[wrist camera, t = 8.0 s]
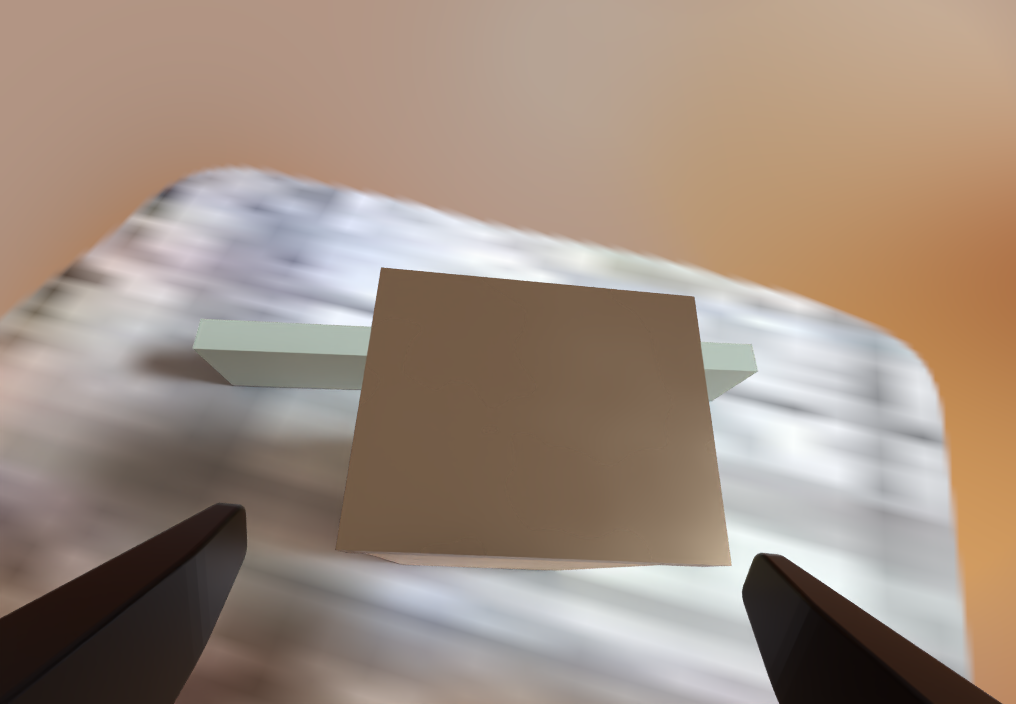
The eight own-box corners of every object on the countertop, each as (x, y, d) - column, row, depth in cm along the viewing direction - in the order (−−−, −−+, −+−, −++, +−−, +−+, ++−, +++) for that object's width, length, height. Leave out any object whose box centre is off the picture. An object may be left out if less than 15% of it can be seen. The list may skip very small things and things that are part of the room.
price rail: (232, 385, 18) (192, 348, 15) (239, 355, 18) (202, 313, 15) (711, 401, 20) (757, 371, 17) (707, 373, 20) (750, 339, 17)
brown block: (401, 566, 16) (335, 549, 6) (415, 440, 18) (381, 265, 8) (556, 572, 17) (731, 565, 7) (556, 448, 18) (694, 294, 8)
